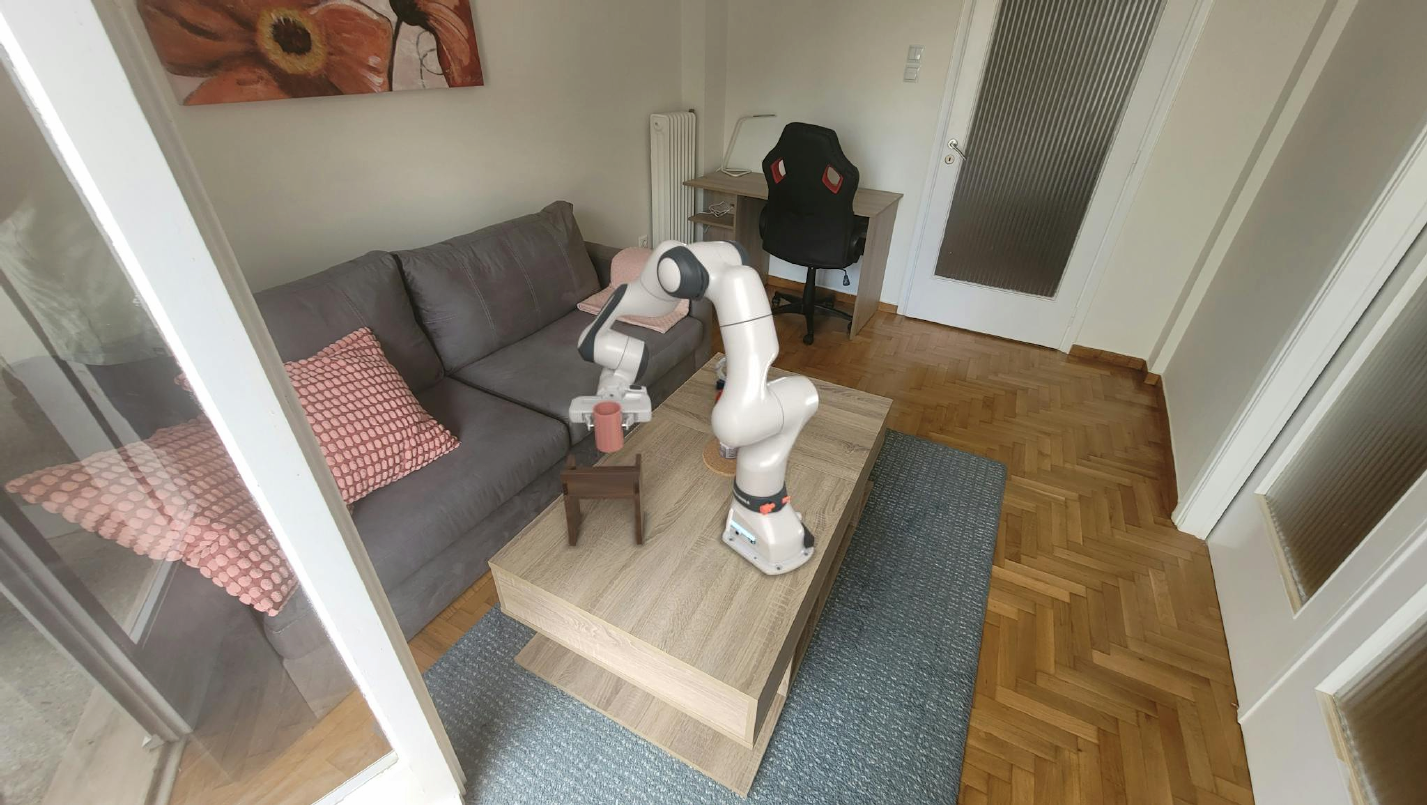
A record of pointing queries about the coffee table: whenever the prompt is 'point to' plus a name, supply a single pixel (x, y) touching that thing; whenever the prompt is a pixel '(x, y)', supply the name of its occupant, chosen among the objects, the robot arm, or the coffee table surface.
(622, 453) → the coffee table surface
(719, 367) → the watch
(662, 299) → the robot arm
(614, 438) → the cup
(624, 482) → the dark wooden stand
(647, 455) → the coffee table surface
